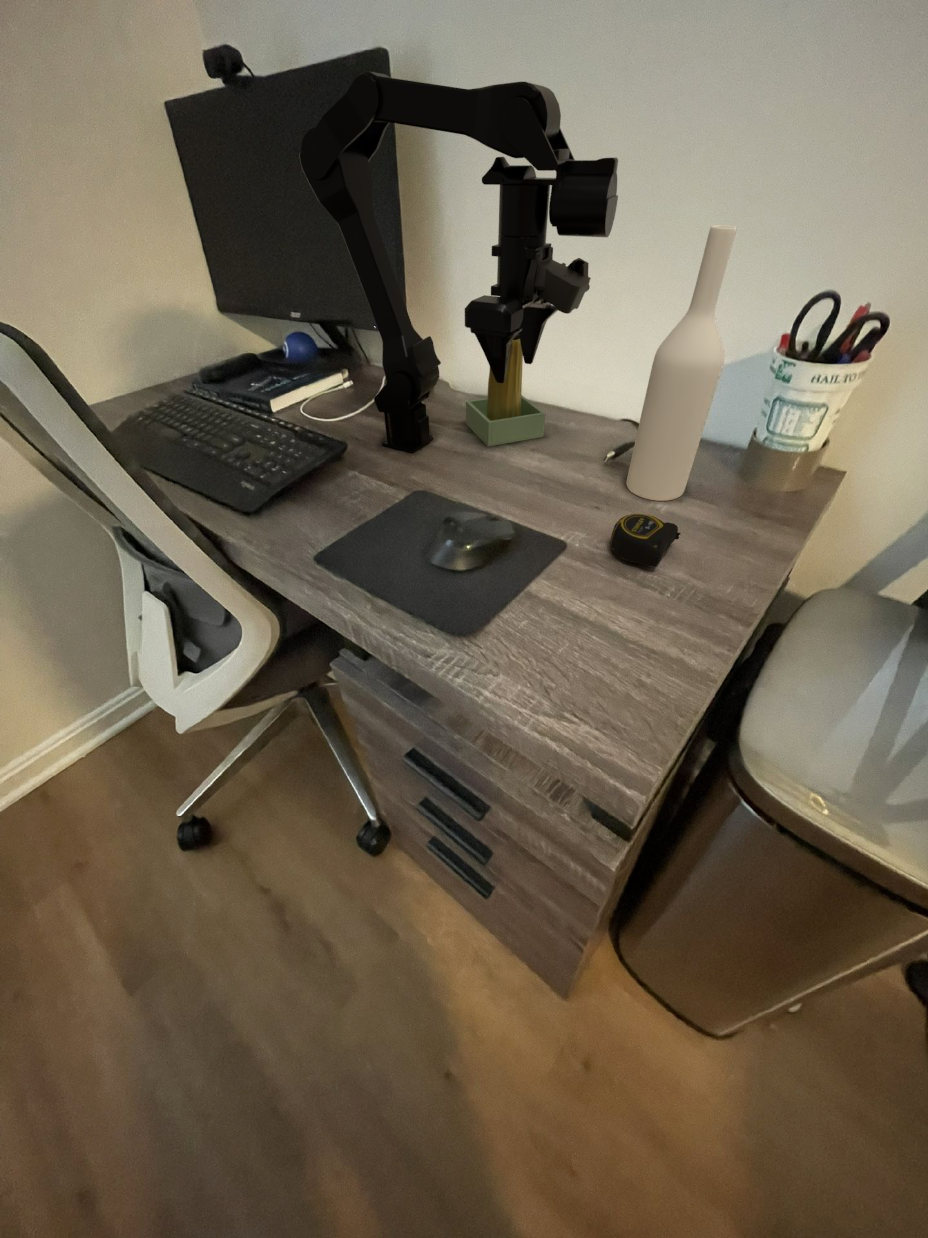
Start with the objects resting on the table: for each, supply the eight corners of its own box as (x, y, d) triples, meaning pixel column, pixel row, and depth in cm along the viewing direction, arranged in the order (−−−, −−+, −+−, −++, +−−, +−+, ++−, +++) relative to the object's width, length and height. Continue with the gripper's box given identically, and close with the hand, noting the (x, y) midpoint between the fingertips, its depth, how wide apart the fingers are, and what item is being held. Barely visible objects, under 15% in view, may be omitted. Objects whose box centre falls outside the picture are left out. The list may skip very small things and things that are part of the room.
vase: (509, 417, 92) (514, 328, 83) (527, 430, 88) (534, 338, 78) (479, 424, 90) (480, 333, 81) (496, 437, 86) (499, 343, 77)
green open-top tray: (487, 446, 85) (488, 422, 82) (465, 423, 92) (465, 400, 89) (543, 437, 87) (545, 413, 85) (517, 415, 94) (519, 392, 92)
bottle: (616, 490, 74) (671, 227, 53) (639, 469, 78) (698, 220, 58) (671, 507, 70) (753, 232, 50) (692, 484, 75) (774, 224, 54)
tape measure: (653, 577, 59) (662, 550, 56) (598, 556, 62) (604, 529, 59) (675, 549, 63) (684, 523, 60) (622, 531, 66) (629, 505, 63)
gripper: (556, 249, 53) (542, 404, 63) (612, 228, 65) (592, 362, 75) (461, 242, 57) (463, 389, 67) (530, 224, 69) (522, 352, 79)
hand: (515, 372), depth 72 cm, fingers open, 9 cm apart
